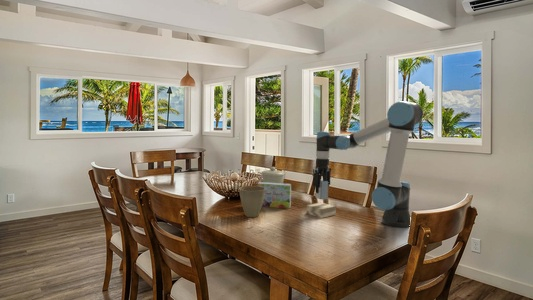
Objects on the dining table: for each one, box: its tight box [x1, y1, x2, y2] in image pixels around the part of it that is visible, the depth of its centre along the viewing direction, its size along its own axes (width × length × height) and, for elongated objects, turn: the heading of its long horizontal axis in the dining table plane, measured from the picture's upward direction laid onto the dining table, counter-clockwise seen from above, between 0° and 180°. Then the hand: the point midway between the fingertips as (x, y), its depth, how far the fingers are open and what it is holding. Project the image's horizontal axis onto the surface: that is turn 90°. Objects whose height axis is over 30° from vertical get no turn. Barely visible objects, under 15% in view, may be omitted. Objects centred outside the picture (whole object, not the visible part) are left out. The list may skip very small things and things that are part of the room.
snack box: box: [256, 181, 292, 210], centre depth 218 cm, size 21×6×15 cm, turn 76°
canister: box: [260, 166, 286, 184], centre depth 251 cm, size 18×18×21 cm
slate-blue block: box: [319, 179, 329, 200], centre depth 201 cm, size 5×5×10 cm
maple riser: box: [306, 201, 337, 219], centre depth 202 cm, size 12×12×5 cm
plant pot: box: [238, 185, 265, 218], centre depth 196 cm, size 15×15×16 cm
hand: (321, 197), depth 201 cm, fingers closed on slate-blue block, 5 cm apart
